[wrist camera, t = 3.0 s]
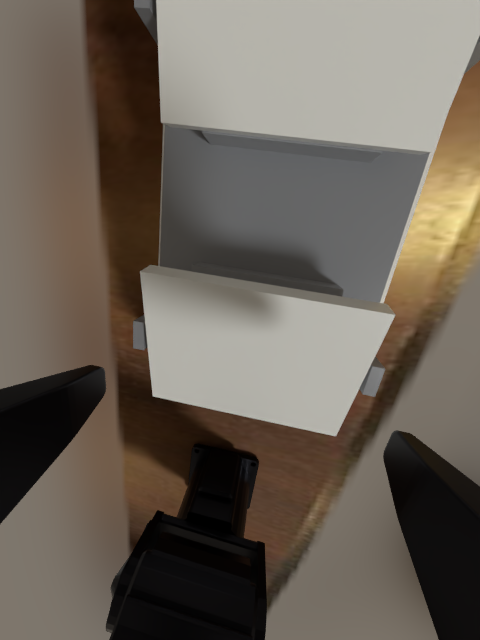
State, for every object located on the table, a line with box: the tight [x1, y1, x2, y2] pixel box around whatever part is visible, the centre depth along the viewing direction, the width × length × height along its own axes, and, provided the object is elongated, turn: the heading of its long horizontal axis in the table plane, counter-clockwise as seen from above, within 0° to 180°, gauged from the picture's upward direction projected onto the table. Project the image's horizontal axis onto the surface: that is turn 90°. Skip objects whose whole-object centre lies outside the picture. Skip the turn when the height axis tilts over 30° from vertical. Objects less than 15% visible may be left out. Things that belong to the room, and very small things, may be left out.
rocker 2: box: [140, 265, 395, 436], centre depth 13 cm, size 8×11×2 cm
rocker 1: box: [156, 0, 480, 155], centre depth 9 cm, size 8×11×2 cm
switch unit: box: [133, 0, 480, 397], centre depth 14 cm, size 26×16×7 cm, turn 172°
